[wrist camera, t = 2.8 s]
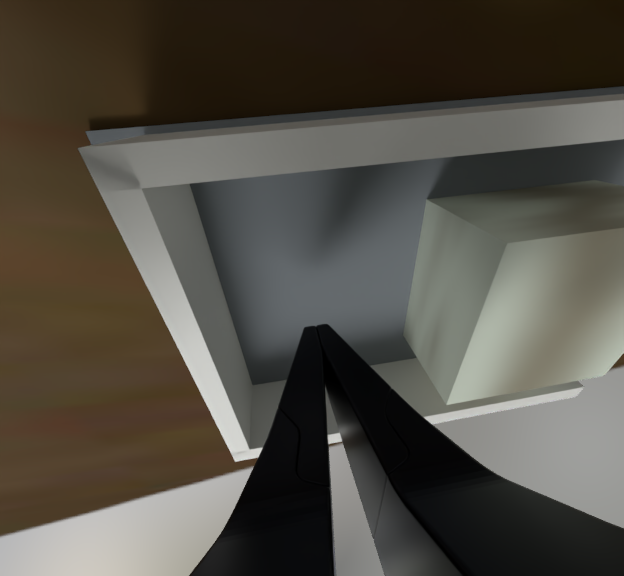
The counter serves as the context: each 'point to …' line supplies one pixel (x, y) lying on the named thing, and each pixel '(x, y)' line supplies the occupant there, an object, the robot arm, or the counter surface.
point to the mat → (351, 231)
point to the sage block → (518, 289)
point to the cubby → (292, 159)
